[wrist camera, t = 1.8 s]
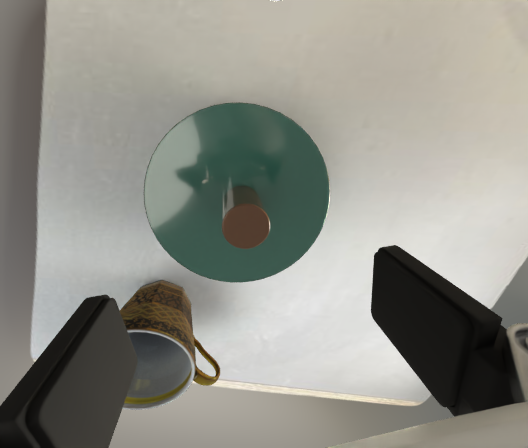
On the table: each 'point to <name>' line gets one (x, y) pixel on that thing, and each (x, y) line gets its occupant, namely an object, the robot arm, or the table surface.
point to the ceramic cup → (162, 346)
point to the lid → (236, 192)
